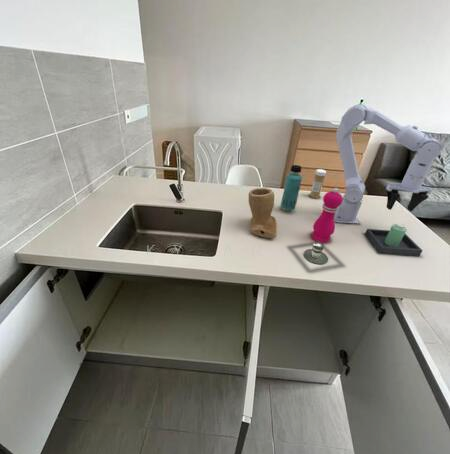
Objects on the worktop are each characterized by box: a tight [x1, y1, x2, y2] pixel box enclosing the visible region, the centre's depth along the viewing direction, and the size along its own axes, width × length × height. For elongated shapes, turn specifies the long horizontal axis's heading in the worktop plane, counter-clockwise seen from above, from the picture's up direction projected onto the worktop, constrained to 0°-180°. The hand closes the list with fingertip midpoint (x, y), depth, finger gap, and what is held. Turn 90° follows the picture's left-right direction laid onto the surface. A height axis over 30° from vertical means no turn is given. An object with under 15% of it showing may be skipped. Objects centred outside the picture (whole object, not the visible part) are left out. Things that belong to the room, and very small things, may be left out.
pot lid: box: [303, 241, 329, 265], centre depth 79 cm, size 12×12×5 cm
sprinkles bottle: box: [309, 168, 327, 199], centre depth 116 cm, size 5×5×14 cm
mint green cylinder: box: [384, 222, 408, 247], centre depth 86 cm, size 4×4×8 cm
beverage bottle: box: [280, 164, 303, 211], centre depth 101 cm, size 6×7×20 cm
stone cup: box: [248, 187, 278, 239], centre depth 89 cm, size 15×12×15 cm
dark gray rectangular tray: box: [364, 228, 423, 257], centre depth 87 cm, size 14×12×2 cm
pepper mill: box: [311, 187, 343, 244], centre depth 84 cm, size 7×7×20 cm
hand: (398, 209), depth 91 cm, fingers open, 7 cm apart
